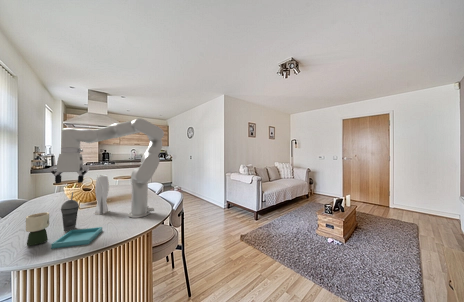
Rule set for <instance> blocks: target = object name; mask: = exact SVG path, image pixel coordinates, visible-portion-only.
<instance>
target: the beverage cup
mask: <svg viewBox="0 0 464 302" xmlns="http://www.w3.org/2000/svg"><path fill="white" fill-rule="evenodd" d="M73 197H74V191H72V193H71V197H70V200H66V201H65V202H62V205H61V207H60V212H61V215H62V216H61V218H62V226H63V231H65V232H69V231H70V230H76V226H77V220H78V211H79V208H80V205H79V203H78V201H77V200H75V199H73Z"/></svg>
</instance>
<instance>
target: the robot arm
mask: <svg viewBox="0 0 464 302" xmlns="http://www.w3.org/2000/svg"><path fill="white" fill-rule="evenodd" d="M139 133H142V134H144V135H146V136H147V138H148V141H149V144H148V147H147V148H146V150H145V151H144V153H143V155H142V156H141V158H140V163H141V164H140V165H139V167H136V168H134V169H133V170H132V171H131V174H130V178H131V179H130V180H131V201H130V202H131V208H130V210H131V211H130V212H129V214H128V217H129V218H132V219H136V218H144V217H146V216H148V215H150V214H151V212H155V207H149V205H148V195H149V194H148V193H149V191H148V189H149V185H148V183H149V182H150V181H151V179H152V178H153V176H154V175H155V173H156V171H157V168H158V167H159V164H160V156H159V155H160V153H161V151H162V148H163V140H162V139H163V138H164V136H165V131H164V130H163V129H162V128H161V127H160V126H158V125H156V124H154V123H152V122H149V121H148V120H146V119H144V118H140V117H139V118H136V119H133V120H128V121H124V122H123V121H122V122H118V123H113V124H110V125H108V126H105V127H102V128H101V127H100V128H96V129H86V128H85V129H78V128H73V127H72V128H69V127H65V128H62V130H61V140H60V141H61V144H60V146H61V147H60V153H59V154H58V157H57V162H56V164H54V165H52V166H50V167H49V168H48V169H49V170H50V174H52V175H53V176H54V182H55V184H60V183H62V174H63V173H77V174H78V177H77V183H78V184H82V183H83V181H84V177H85V175H86V174H87V173H88V171H89V170H90V166H88V165H85V164H84V158H83V154H82V153H83V152H84V149H81V142H83V143H87V144H94V143H98V142H103V141H107V140H111V139H117V138H122V137H125V136H131V135H135V134H139Z"/></svg>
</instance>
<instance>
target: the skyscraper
mask: <svg viewBox="0 0 464 302" xmlns="http://www.w3.org/2000/svg"><path fill="white" fill-rule="evenodd" d="M96 175H97V176H96V179H95V180H96V181H95V187H94V189H95V191H94V193H95V199H96V207H95V212H94V213H93V214H95V216H97V215H98V216H104V215H105V213H106V214H108V213H109V212H111V210H109V206H108V203H107V199H108V195H109V190H110V186H109V185H110V184H109V178H108V174H106V175H105V174H104V173H103V174H99V172H97V173H96Z"/></svg>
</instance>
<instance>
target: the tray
mask: <svg viewBox="0 0 464 302" xmlns="http://www.w3.org/2000/svg"><path fill="white" fill-rule="evenodd" d="M101 233H103V226H100V227H99V226H97V227H89V228H88V227H87V228H79V229H76V228H75V229H73V230H70V231H66V233H65V234H63V235H62V236H60V237H59V238H58V239H56V240H55V241H54V242H52V243H50V245H51V246H50V248H51V249H60V248H69V247H75V246H76V247H77V246H86V245H90V244H91V243H92V242H93V241H94V240H95V239H96V238H97V237H98V236H99V235H100V234H101Z"/></svg>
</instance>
